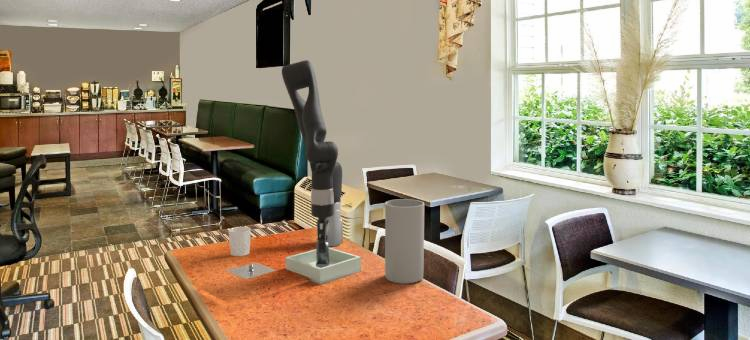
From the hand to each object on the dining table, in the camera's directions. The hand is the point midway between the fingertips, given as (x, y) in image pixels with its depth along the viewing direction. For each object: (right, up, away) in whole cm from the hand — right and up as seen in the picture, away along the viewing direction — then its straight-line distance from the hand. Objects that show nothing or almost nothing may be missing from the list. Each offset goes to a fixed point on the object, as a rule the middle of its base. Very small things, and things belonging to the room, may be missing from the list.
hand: (323, 248), depth 181 cm
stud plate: (-24, -8, -1) cm, 25 cm away
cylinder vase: (+27, -9, -5) cm, 29 cm away
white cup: (-32, -6, +19) cm, 38 cm away
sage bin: (0, -8, +1) cm, 8 cm away
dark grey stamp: (0, -7, +1) cm, 7 cm away
